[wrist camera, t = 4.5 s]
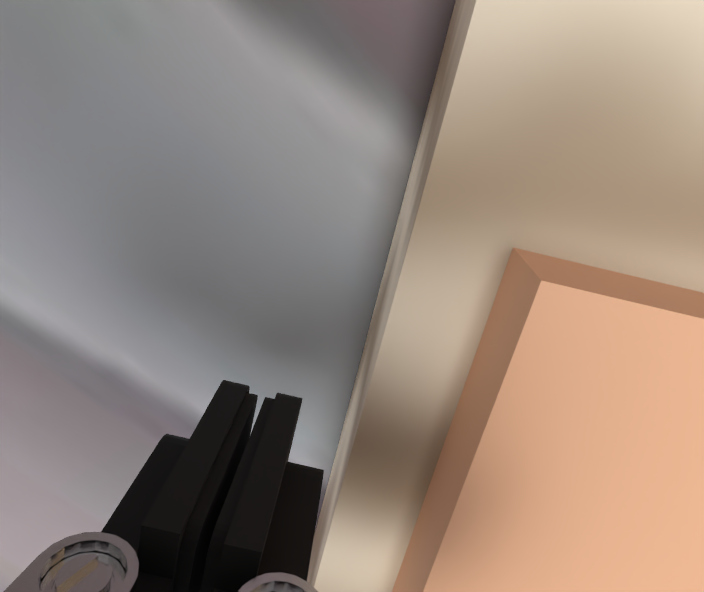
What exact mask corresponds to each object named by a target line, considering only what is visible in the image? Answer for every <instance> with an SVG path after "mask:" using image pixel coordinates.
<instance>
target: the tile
mask: <svg viewBox="0 0 704 592" xmlns="http://www.w3.org/2000/svg"><path fill="white" fill-rule="evenodd" d="M392 592H704V293H702V292H698V291H694V290H690V289H686V288H681V287H677V286H673V285H669V284H665V283H660V282H656V281H652V280H648V279H644V278H639V277H635V276H631V275H627V274H623V273H618V272H614V271H610V270H606V269H602V268H598V267H593V266H589V265H585V264H581V263H577V262H572V261H568V260H564V259H560V258H556V257H551V256H547V255H543V254H539V253H535V252H530V251H526V250H522V249H518V248H514V247H513V249H512V251H511V254H510V257H509V260H508V263H507V266H506V269H505V271H504V274H503V277H502V280H501V283H500V286H499V288H498V291H497V294H496V297H495V300H494V303H493V306H492V308H491V311H490V314H489V317H488V320H487V323H486V325H485V328H484V331H483V334H482V337H481V340H480V343H479V345H478V348H477V351H476V354H475V357H474V360H473V362H472V365H471V368H470V371H469V374H468V377H467V380H466V382H465V385H464V388H463V391H462V394H461V397H460V399H459V402H458V405H457V408H456V411H455V414H454V416H453V419H452V422H451V425H450V428H449V431H448V434H447V436H446V439H445V442H444V445H443V448H442V451H441V453H440V456H439V459H438V462H437V465H436V468H435V471H434V473H433V476H432V479H431V482H430V485H429V488H428V490H427V493H426V496H425V499H424V502H423V505H422V508H421V510H420V513H419V516H418V519H417V522H416V525H415V527H414V530H413V533H412V536H411V539H410V542H409V545H408V547H407V550H406V553H405V556H404V559H403V562H402V564H401V567H400V570H399V573H398V576H397V579H396V582H395V584H394V587H393V590H392Z"/></svg>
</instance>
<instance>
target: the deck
mask: <svg viewBox="0 0 704 592" xmlns="http://www.w3.org/2000/svg"><path fill="white" fill-rule="evenodd" d="M513 247H514V248H518V249H522V250H526V251H530V252H535V253H539V254H543V255H547V256H551V257H556V258H560V259H564V260H568V261H572V262H577V263H581V264H585V265H589V266H593V267H598V268H602V269H606V270H610V271H614V272H618V273H623V274H627V275H631V276H635V277H639V278H644V279H648V280H652V281H656V282H660V283H665V284H669V285H673V286H677V287H681V288H686V289H690V290H694V291H698V292H702V293H704V0H456V2H455V5H454V9H453V13H452V17H451V20H450V24H449V28H448V32H447V36H446V39H445V43H444V47H443V51H442V54H441V58H440V62H439V66H438V70H437V73H436V77H435V81H434V85H433V88H432V92H431V96H430V100H429V104H428V107H427V111H426V115H425V119H424V122H423V126H422V130H421V134H420V138H419V141H418V145H417V149H416V153H415V156H414V160H413V164H412V168H411V172H410V175H409V179H408V183H407V187H406V190H405V194H404V198H403V202H402V206H401V209H400V213H399V217H398V221H397V224H396V228H395V232H394V236H393V240H392V243H391V247H390V251H389V255H388V258H387V262H386V266H385V270H384V274H383V277H382V281H381V285H380V289H379V292H378V296H377V300H376V304H375V308H374V311H373V315H372V319H371V323H370V326H369V330H368V334H367V338H366V342H365V345H364V349H363V353H362V357H361V360H360V364H359V368H358V372H357V376H356V379H355V383H354V387H353V391H352V394H351V398H350V402H349V406H348V410H347V413H346V417H345V421H344V425H343V428H342V432H341V436H340V440H339V444H338V447H337V451H336V455H335V459H334V462H333V466H332V470H331V474H330V478H329V481H328V485H327V489H326V493H325V496H324V500H323V504H322V508H321V512H320V515H319V519H318V523H317V527H316V530H315V534H314V538H313V545H312V551H311V558H310V564H309V571H308V577H307V582H309V583H310V584H311V585H312V586H313V587H314V588H315V589H316V590H317V591H318V592H392V590H393V587H394V584H395V582H396V579H397V576H398V573H399V570H400V567H401V564H402V562H403V559H404V556H405V553H406V550H407V547H408V545H409V542H410V539H411V536H412V533H413V530H414V527H415V525H416V522H417V519H418V516H419V513H420V510H421V508H422V505H423V502H424V499H425V496H426V493H427V490H428V488H429V485H430V482H431V479H432V476H433V473H434V471H435V468H436V465H437V462H438V459H439V456H440V453H441V451H442V448H443V445H444V442H445V439H446V436H447V434H448V431H449V428H450V425H451V422H452V419H453V416H454V414H455V411H456V408H457V405H458V402H459V399H460V397H461V394H462V391H463V388H464V385H465V382H466V380H467V377H468V374H469V371H470V368H471V365H472V362H473V360H474V357H475V354H476V351H477V348H478V345H479V343H480V340H481V337H482V334H483V331H484V328H485V325H486V323H487V320H488V317H489V314H490V311H491V308H492V306H493V303H494V300H495V297H496V294H497V291H498V288H499V286H500V283H501V280H502V277H503V274H504V271H505V269H506V266H507V263H508V260H509V257H510V254H511V251H512V249H513Z"/></svg>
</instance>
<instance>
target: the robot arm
mask: <svg viewBox="0 0 704 592" xmlns="http://www.w3.org/2000/svg"><path fill="white" fill-rule="evenodd" d="M249 388H250V387H249V386H247V385H243V384H239V383H234V382H230V381H226V380H223V381H222V383H221V384H220V386H219V388H218V390H217V391H216V393H215V395H214V397H213V399H212V400H211V402H210V404H209V406H208V407H207V409H206V411H205V413H204V415H203V416H202V418H201V420H200V422H199V424H198V425H197V427H196V429H195V431H194V432H193V434H192V436H191V438H190V439H187V438H182V437H178V436H174V435H169V434H166V435H164V436H163V437H162V439H161V440H160V441H159V443H158V445H157V446H156V448H155V449H154V451H153V452H152V454H151V455H150V457H149V458H148V460H147V462H146V463H145V465H144V466H143V468H142V469H141V471H140V472H139V474H138V476H137V477H136V479H135V480H134V482H133V483H132V485H131V486H130V488H129V490H128V491H127V493H126V494H125V496H124V497H123V499H122V500H121V502H120V504H119V505H118V507H117V508H116V510H115V511H114V513H113V514H112V516H111V518H110V519H109V521H108V522H107V524H106V525H105V527H104V528H103V530H102V531H101V532H85V533H81V534H77V535H73V536H69V537H66V538H64V539H62V540H60V541H58V542H56V543H54V544H52V545H51V546H50V547H49V548H47V549H46V550H45V551H44V552H42V553H41V554H40V555H39V556H38V557H37V558H36V559H35V560H34V561H33V562H32V563H31V564H30V565H29V566H28V567H27V568H26V569H25V570H24V571H23V572H22V573H21V574H20V575H19V576H18V577H17V578H16V579H15V580H14V581H13V582H12V584H11V585H10V586H9V587H8V588H7V589H6V590H5V591H4V592H318V591H317V590H316V589H315V588H314V587H313V586H312V585H311V584H310V583H309V582H307V577H308V571H309V564H310V558H311V551H312V545H313V538H314V532H315V525H316V519H317V513H318V506H319V500H320V493H321V487H322V480H323V473H324V470H321V469H317V468H312V467H308V466H304V465H299V464H295V463H291V462H288V458H289V453H290V449H291V445H292V441H293V437H294V432H295V428H296V424H297V420H298V416H299V411H300V407H301V403H302V398H298V397H294V396H290V395H285V394H281V393H277V394H276V397H275V399H271V398H267V397H265V399H264V402H263V404H262V407H261V409H260V412H259V414H258V417H257V420H256V422H255V425H254V427H253V430H252V432H251V428H252V423H253V418H254V413H255V408H256V403H257V397H258V396H257V395H254V394H250V393H249ZM250 433H251V435H250Z"/></svg>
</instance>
